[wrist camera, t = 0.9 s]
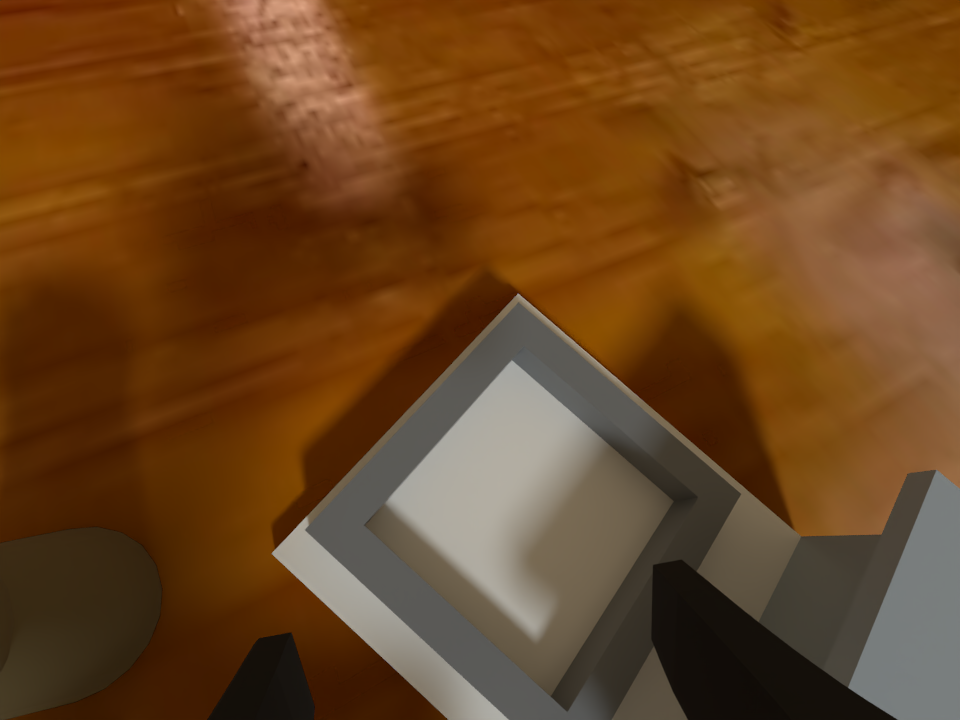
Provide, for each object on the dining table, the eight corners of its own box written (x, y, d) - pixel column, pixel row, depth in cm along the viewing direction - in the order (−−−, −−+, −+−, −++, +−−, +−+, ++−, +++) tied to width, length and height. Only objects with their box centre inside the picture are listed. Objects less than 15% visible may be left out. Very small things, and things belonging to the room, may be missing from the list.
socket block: (634, 890, 21) (856, 1170, 11) (275, 553, 22) (211, 557, 13) (801, 550, 27) (1035, 552, 17) (513, 301, 28) (587, 179, 19)
